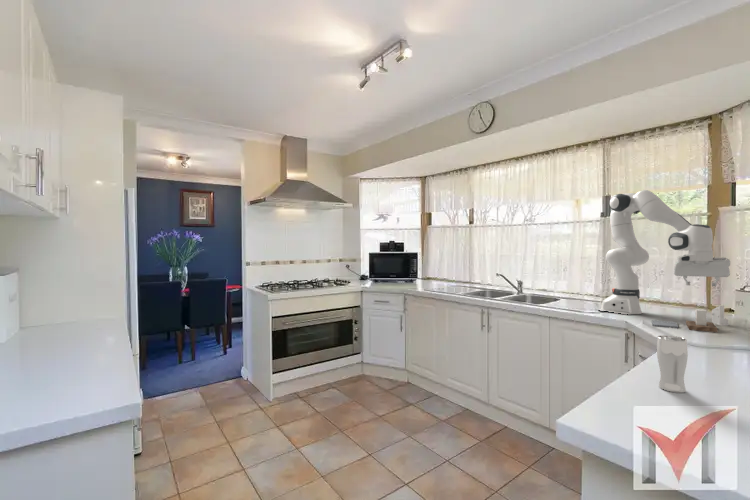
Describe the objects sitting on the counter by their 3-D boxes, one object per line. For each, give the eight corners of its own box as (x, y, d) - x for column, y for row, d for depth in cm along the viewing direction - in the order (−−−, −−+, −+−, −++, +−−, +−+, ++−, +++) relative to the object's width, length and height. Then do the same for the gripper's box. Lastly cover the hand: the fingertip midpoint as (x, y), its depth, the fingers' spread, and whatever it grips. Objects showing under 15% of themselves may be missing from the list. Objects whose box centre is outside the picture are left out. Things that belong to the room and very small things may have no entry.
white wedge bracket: (726, 322, 177) (719, 305, 181) (713, 328, 186) (707, 312, 190) (735, 322, 177) (728, 305, 181) (722, 328, 185) (715, 312, 189)
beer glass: (651, 385, 109) (650, 335, 109) (672, 383, 109) (672, 334, 109) (671, 394, 102) (671, 341, 102) (694, 393, 102) (694, 340, 102)
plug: (696, 328, 175) (696, 310, 175) (695, 326, 180) (695, 308, 179) (706, 329, 173) (706, 311, 173) (704, 327, 177) (704, 309, 177)
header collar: (689, 329, 174) (689, 325, 174) (685, 324, 185) (685, 320, 185) (717, 332, 168) (717, 328, 168) (712, 326, 179) (712, 322, 179)
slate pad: (652, 325, 183) (652, 324, 183) (651, 321, 192) (651, 320, 192) (678, 328, 177) (678, 326, 177) (675, 323, 187) (675, 322, 187)
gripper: (728, 257, 172) (729, 286, 173) (673, 257, 184) (673, 284, 185) (731, 257, 167) (731, 287, 167) (674, 257, 179) (674, 285, 179)
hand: (700, 285), depth 176 cm, fingers open, 8 cm apart
